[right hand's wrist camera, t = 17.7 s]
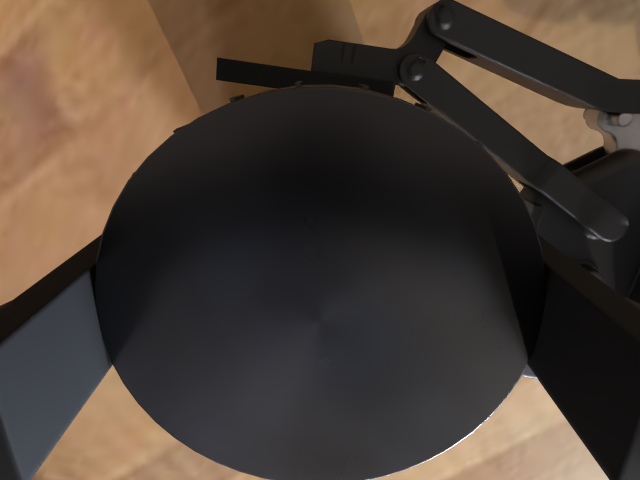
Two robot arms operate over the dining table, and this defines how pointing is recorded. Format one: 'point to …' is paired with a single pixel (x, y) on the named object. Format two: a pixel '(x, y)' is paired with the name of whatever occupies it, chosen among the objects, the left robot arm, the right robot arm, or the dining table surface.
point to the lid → (320, 284)
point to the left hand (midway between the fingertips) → (218, 193)
